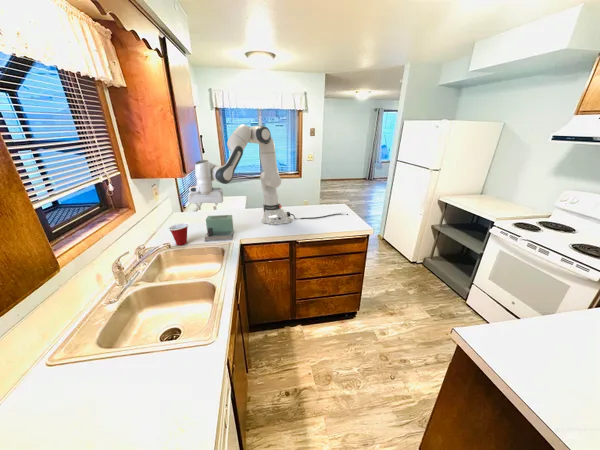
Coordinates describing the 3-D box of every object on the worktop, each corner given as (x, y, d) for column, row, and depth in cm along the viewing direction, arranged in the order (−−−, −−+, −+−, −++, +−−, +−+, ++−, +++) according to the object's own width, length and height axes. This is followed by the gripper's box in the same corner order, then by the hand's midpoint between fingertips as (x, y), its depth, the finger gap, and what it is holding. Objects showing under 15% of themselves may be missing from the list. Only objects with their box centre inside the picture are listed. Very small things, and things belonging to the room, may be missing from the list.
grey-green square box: (233, 230, 170) (232, 214, 166) (231, 239, 155) (229, 222, 151) (210, 231, 168) (208, 215, 163) (205, 241, 153) (203, 223, 149)
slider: (213, 233, 157) (212, 227, 156) (212, 235, 154) (211, 229, 153) (209, 233, 157) (208, 227, 155) (208, 235, 154) (207, 229, 152)
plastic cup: (177, 240, 154) (174, 222, 150) (193, 240, 154) (191, 223, 149) (168, 247, 144) (164, 228, 140) (185, 247, 144) (182, 229, 139)
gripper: (223, 186, 150) (225, 207, 154) (188, 186, 146) (191, 208, 151) (221, 188, 144) (223, 210, 148) (185, 188, 141) (189, 211, 145)
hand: (207, 209), depth 150 cm, fingers open, 8 cm apart
